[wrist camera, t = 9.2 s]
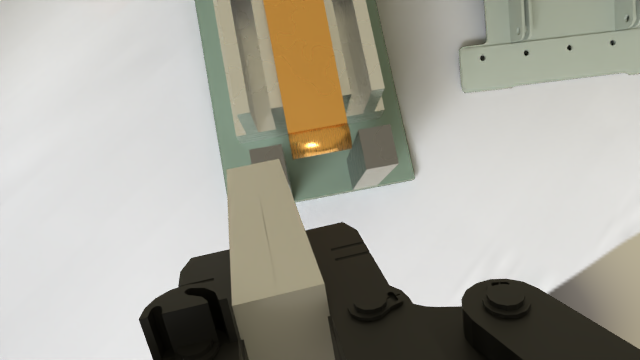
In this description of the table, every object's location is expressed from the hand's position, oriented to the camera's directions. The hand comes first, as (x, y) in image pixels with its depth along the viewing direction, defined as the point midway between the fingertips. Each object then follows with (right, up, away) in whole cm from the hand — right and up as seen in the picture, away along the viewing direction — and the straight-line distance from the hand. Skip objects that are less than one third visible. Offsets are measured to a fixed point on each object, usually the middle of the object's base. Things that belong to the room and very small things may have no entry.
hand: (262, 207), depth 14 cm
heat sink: (+1, +7, +18) cm, 19 cm away
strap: (0, +10, +12) cm, 15 cm away
